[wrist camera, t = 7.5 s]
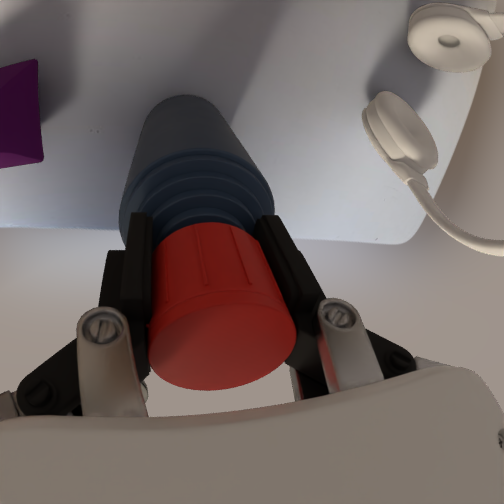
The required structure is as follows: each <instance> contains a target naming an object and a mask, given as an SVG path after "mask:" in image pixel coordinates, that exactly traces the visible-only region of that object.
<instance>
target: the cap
mask: <svg viewBox="0 0 504 504" xmlns="http://www.w3.org/2000/svg"><path fill="white" fill-rule="evenodd" d="M146 328H148V329H147V354H148V361H149V364H150V366H151V368H152V369H153V370H154V372H155V373H156V374H157V375H158V376H159V377H160V378H162V379H163V380H165V381H167V382H169V383H171V384H173V385H176V386H178V387H182V388H186V389H193V390H206V391H210V390H222V389H229V388H234V387H238V386H242V385H245V384H248V383H251V382H253V381H255V380H258V379H260V378H261V377H264V376H265V375H267V374H269V373H271V372H272V371H273V370H275V369H276V368H277V367H279V366H280V365H281V364H282V363H283V362H284V361H285V360H286V359H287V358H288V356H289V355H290V354H291V352H292V350H293V348H294V346H295V343H296V338H297V332H296V327H295V324H294V322H293V320H292V317H291V315H290V313H289V311H288V308H287V306H286V304H285V301H284V299H283V296H282V294H281V292H280V290H279V287H278V285H277V283H276V280H275V278H274V276H273V274H272V271H271V269H270V267H269V265H268V262H267V260H266V258H265V255H264V253H263V251H262V249H261V246H260V244H259V242H258V241H257V240H255V239H254V238H253V237H252V236H251V235H250V234H248V233H247V232H245V231H244V230H242V229H240V228H237V227H235V226H232V225H229V224H224V223H216V222H207V223H198V224H193V225H190V226H187V227H184V228H182V229H179V230H177V231H175V232H174V233H172V234H171V235H169V236H168V237H166V238H165V239H164V240H163V241H162V242H161V243H160V244H159V245H158V246H157V248H156V249H155V250H154V252H153V254H152V318H151V320H150V322H149V324H146Z"/></svg>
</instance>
